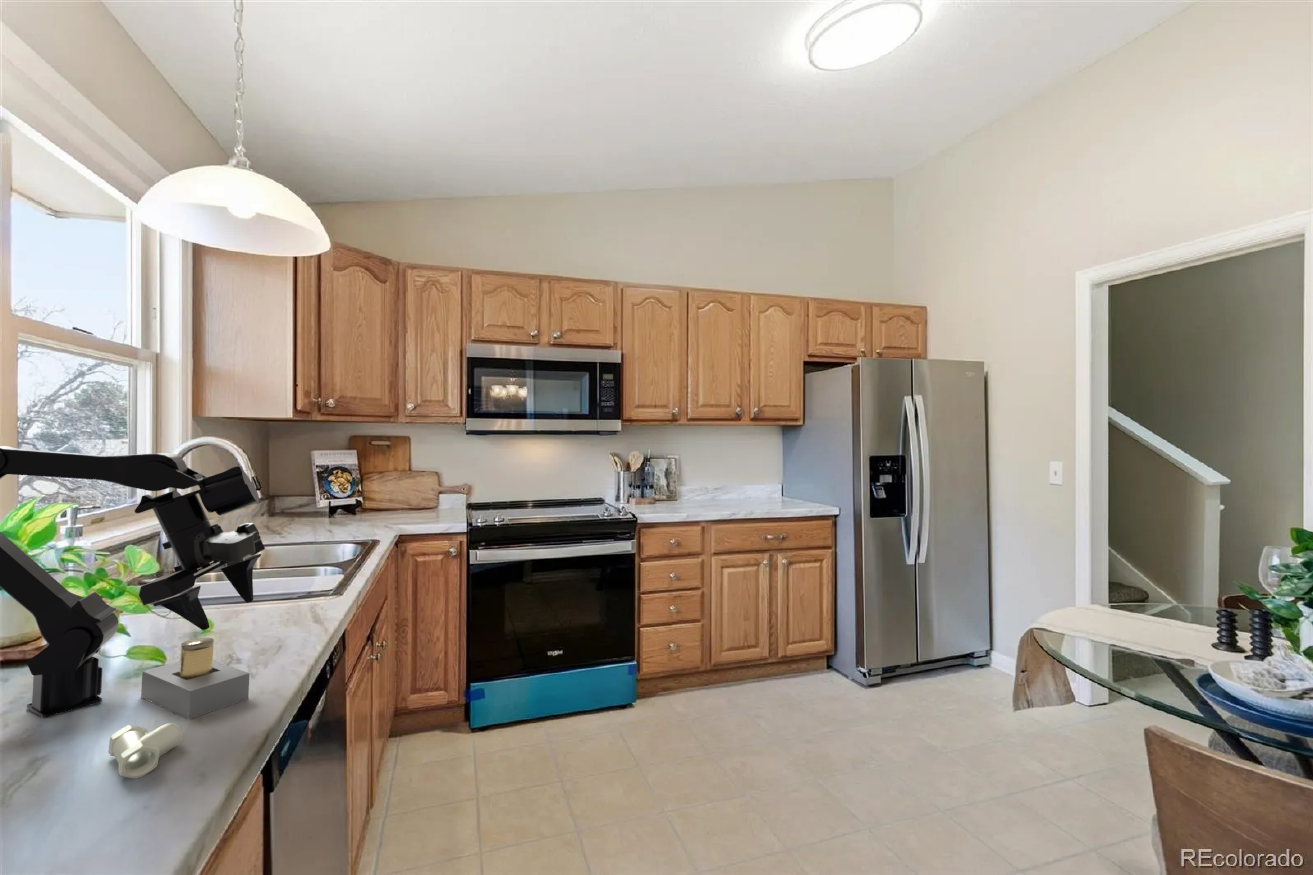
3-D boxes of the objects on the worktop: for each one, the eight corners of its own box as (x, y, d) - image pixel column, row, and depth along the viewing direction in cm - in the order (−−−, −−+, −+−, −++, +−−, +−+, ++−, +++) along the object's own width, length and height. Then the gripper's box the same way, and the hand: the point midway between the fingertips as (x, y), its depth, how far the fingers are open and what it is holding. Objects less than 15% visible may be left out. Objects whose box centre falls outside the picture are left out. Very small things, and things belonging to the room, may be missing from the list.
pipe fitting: (174, 744, 79) (106, 759, 74) (178, 714, 80) (111, 727, 75) (190, 766, 74) (119, 784, 69) (195, 734, 75) (124, 749, 69)
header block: (188, 719, 85) (190, 691, 85) (141, 697, 92) (142, 671, 92) (248, 699, 92) (249, 673, 92) (200, 680, 99) (201, 655, 99)
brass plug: (186, 704, 89) (189, 647, 89) (173, 698, 91) (175, 643, 91) (216, 695, 93) (219, 640, 93) (202, 689, 95) (205, 636, 95)
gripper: (180, 534, 84) (227, 631, 87) (272, 496, 102) (309, 577, 105) (114, 555, 86) (162, 650, 88) (217, 514, 104) (254, 594, 106)
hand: (229, 614), depth 97 cm, fingers open, 9 cm apart
